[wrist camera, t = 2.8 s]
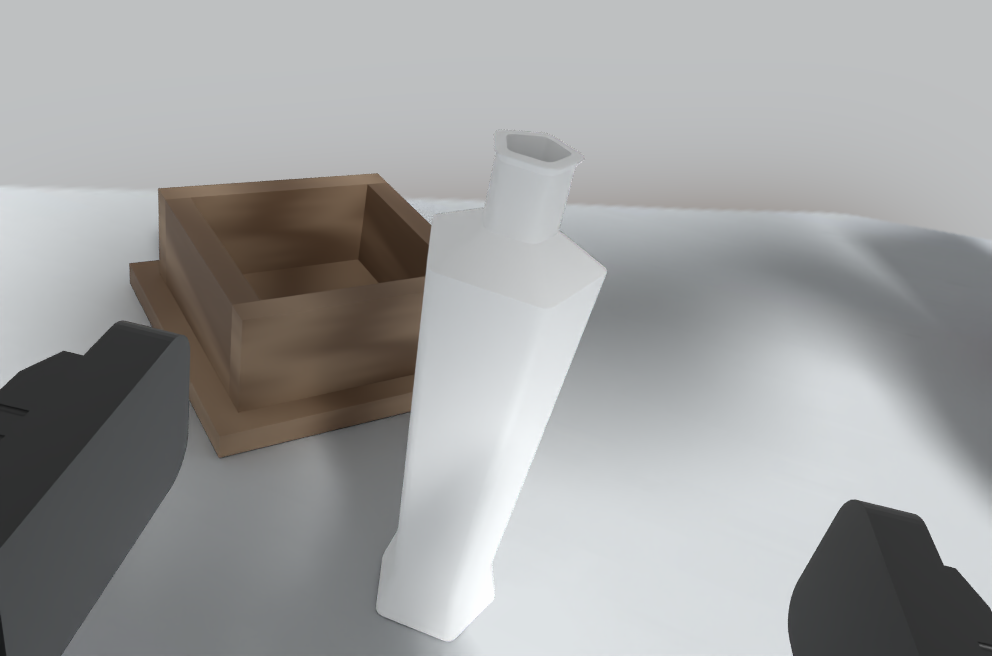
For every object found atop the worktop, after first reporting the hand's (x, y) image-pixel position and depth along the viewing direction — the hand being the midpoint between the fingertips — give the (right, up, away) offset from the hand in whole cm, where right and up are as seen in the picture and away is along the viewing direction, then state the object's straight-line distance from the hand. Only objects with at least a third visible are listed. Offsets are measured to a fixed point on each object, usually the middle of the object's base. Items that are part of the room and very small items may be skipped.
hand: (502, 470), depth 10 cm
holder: (-8, +1, +27) cm, 28 cm away
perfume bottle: (-2, -7, +17) cm, 18 cm away
